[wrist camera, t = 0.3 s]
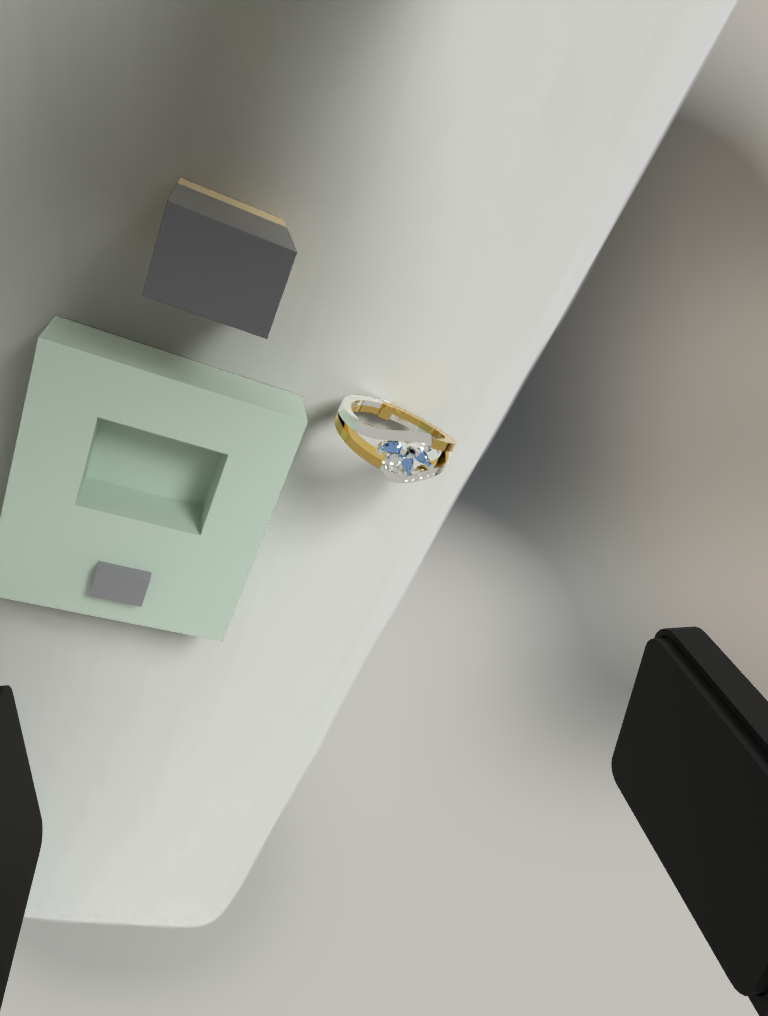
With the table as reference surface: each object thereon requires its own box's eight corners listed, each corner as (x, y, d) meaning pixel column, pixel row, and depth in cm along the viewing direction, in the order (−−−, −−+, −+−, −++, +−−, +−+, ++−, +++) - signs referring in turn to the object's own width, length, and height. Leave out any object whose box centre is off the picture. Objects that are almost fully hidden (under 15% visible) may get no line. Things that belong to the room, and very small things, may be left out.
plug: (180, 177, 37) (167, 200, 29) (283, 219, 39) (297, 252, 31) (159, 254, 38) (142, 295, 31) (260, 291, 40) (266, 339, 33)
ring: (321, 409, 44) (338, 467, 38) (343, 362, 43) (363, 413, 36) (420, 446, 47) (453, 507, 40) (443, 403, 46) (481, 458, 39)
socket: (55, 315, 39) (34, 341, 35) (301, 396, 44) (309, 427, 40) (2, 556, 45) (-20, 602, 41) (222, 603, 50) (222, 649, 46)
